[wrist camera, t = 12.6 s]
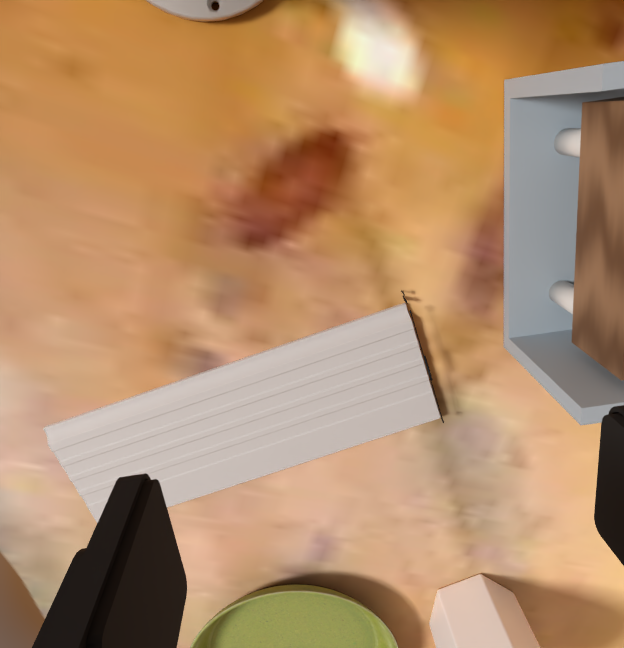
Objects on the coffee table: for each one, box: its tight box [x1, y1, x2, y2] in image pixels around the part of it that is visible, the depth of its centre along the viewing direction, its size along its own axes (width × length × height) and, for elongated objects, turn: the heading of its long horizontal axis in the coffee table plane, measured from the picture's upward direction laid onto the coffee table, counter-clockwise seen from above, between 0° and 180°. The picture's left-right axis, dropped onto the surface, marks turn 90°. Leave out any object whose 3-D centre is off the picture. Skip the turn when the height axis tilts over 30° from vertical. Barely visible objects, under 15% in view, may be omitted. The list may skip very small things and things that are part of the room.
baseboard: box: [43, 291, 444, 523], centre depth 44 cm, size 31×3×12 cm
